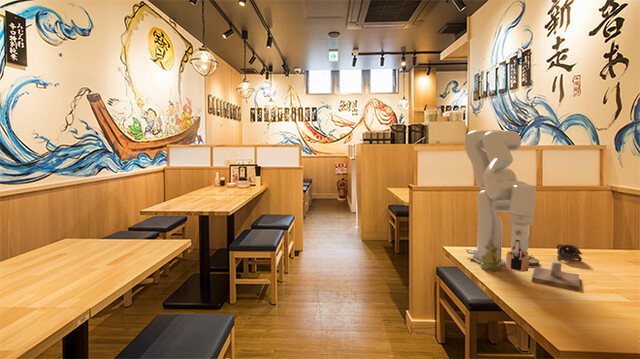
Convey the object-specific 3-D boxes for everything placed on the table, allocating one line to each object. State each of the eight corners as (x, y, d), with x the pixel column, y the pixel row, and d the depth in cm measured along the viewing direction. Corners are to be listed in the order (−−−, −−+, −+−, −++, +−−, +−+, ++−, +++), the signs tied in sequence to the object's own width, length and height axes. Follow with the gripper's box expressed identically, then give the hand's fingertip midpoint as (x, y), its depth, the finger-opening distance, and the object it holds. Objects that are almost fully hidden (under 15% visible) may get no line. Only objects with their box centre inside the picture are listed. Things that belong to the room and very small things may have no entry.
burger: (544, 264, 142) (546, 247, 141) (527, 269, 137) (528, 251, 136) (517, 256, 153) (518, 240, 152) (500, 260, 148) (501, 243, 147)
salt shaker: (503, 272, 133) (504, 248, 131) (482, 271, 134) (484, 247, 133) (497, 265, 140) (499, 242, 138) (478, 263, 141) (479, 241, 140)
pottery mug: (589, 264, 143) (586, 250, 140) (568, 274, 143) (566, 259, 140) (566, 249, 154) (563, 235, 151) (547, 258, 155) (544, 244, 152)
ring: (504, 268, 122) (505, 255, 121) (507, 262, 127) (508, 250, 127) (527, 273, 118) (528, 259, 117) (528, 266, 123) (530, 253, 122)
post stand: (531, 281, 123) (532, 264, 123) (534, 270, 135) (535, 254, 134) (579, 290, 115) (581, 272, 115) (578, 278, 126) (579, 261, 126)
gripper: (531, 225, 111) (526, 276, 113) (535, 215, 125) (531, 261, 127) (505, 222, 115) (501, 271, 118) (512, 212, 129) (508, 256, 131)
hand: (517, 265), depth 122 cm, fingers closed on ring, 7 cm apart
